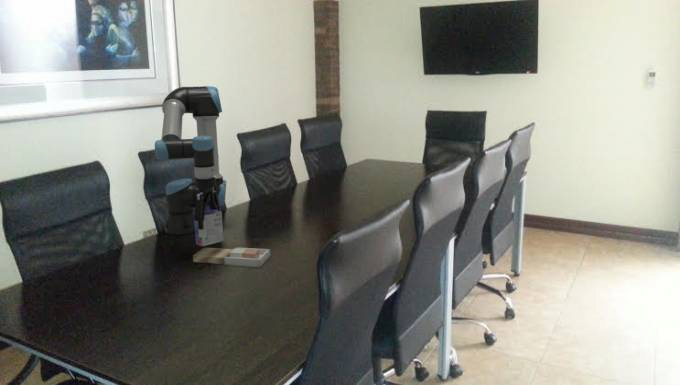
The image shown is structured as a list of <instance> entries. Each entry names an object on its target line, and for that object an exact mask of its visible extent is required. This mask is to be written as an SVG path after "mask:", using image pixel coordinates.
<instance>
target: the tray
mask: <svg viewBox="0 0 680 385" xmlns="http://www.w3.org/2000/svg"><path fill="white" fill-rule="evenodd" d="M235 248H238V249H254V250H259V258H258V259H251V258H235V257H225V264H224V266H233V267H234V266H235V267H246V268H248V267H249V268H261V267H262V266H263V265H264V264H265V263H266V262H267V261H268V260H269V259H270V258H271V249H270V248H269V249H267V248H254V247H253V248H250V247H239V246H237V247H235Z"/></svg>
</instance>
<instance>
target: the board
mask: <svg viewBox="0 0 680 385" xmlns="http://www.w3.org/2000/svg"><path fill="white" fill-rule="evenodd" d="M233 249H234V248H233ZM233 249H232V248H217V247H203V248H201V249H200V250H199V251H197V252H195V254H193V255H192V261H193V262H192V263H203V264H204V263H205V264H219V265H225V257H230V252H231V251H232V250H233Z"/></svg>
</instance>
